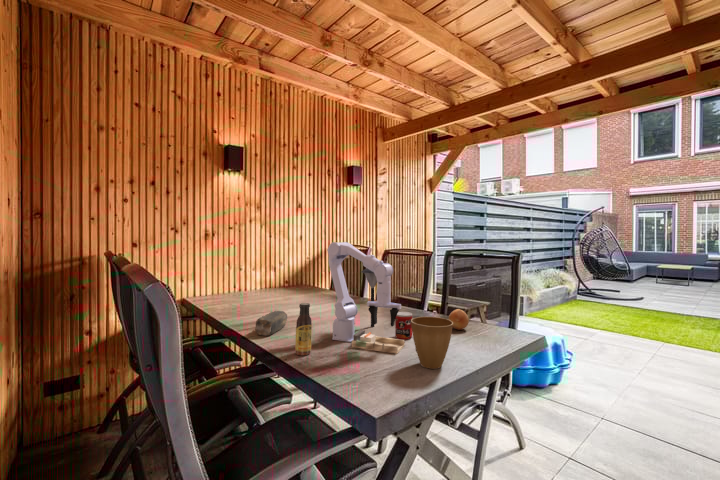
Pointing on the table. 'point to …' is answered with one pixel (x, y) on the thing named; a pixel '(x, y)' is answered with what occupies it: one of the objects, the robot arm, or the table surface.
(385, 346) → the track
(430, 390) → the table surface
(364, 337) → the cream gift box
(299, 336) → the sauce bottle
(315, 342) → the table surface
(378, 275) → the robot arm
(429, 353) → the plant pot
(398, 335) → the canned food
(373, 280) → the solar garden light
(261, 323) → the stone block
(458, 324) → the onion
